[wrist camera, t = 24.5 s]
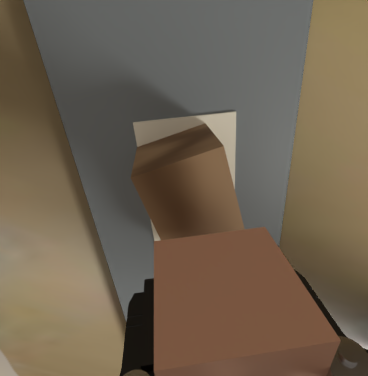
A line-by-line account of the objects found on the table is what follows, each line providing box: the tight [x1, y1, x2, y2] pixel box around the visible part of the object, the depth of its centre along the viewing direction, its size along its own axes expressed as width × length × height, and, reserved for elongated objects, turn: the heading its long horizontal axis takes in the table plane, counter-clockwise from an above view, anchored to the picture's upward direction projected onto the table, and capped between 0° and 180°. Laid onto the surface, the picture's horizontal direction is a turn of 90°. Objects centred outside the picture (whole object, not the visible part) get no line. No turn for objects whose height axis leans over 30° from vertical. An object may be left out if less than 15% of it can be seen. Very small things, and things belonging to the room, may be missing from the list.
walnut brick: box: [131, 123, 244, 240], centre depth 17 cm, size 5×10×5 cm, turn 18°
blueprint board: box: [23, 0, 313, 322], centre depth 22 cm, size 16×38×2 cm, turn 5°
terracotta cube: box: [154, 227, 341, 376], centre depth 10 cm, size 5×5×5 cm
